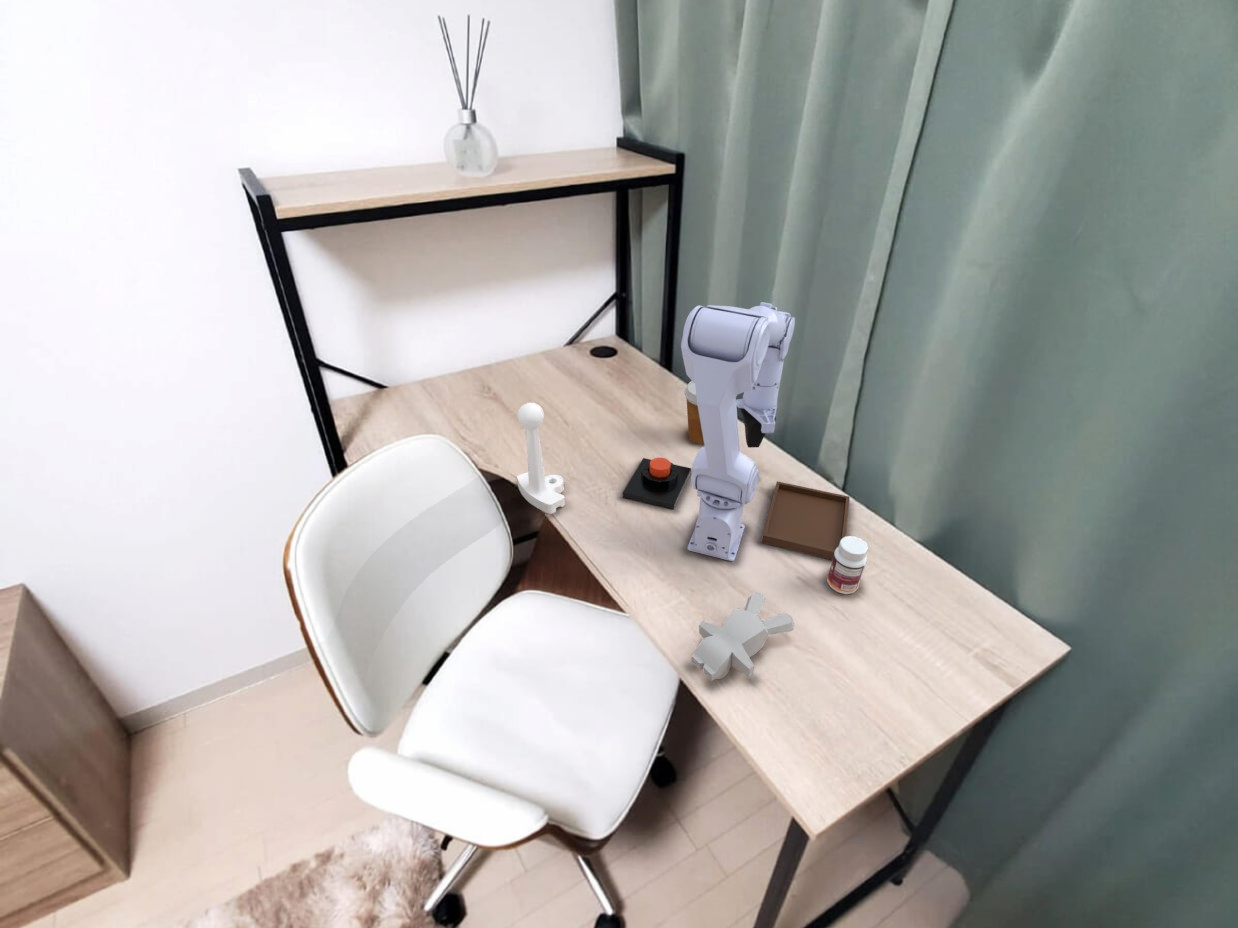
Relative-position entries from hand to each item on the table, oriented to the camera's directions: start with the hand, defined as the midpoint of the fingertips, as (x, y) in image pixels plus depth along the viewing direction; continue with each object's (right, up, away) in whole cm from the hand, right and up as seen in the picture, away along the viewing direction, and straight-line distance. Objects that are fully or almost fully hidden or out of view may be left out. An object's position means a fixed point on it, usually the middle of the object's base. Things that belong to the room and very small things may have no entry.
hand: (752, 445), depth 110 cm
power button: (-17, -5, +5) cm, 18 cm away
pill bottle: (+11, -22, -15) cm, 29 cm away
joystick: (-38, -9, +3) cm, 40 cm away
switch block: (-17, -8, +6) cm, 20 cm away
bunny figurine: (-8, -30, -25) cm, 40 cm away
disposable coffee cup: (-6, +2, +20) cm, 21 cm away
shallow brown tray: (+9, -14, -3) cm, 17 cm away
